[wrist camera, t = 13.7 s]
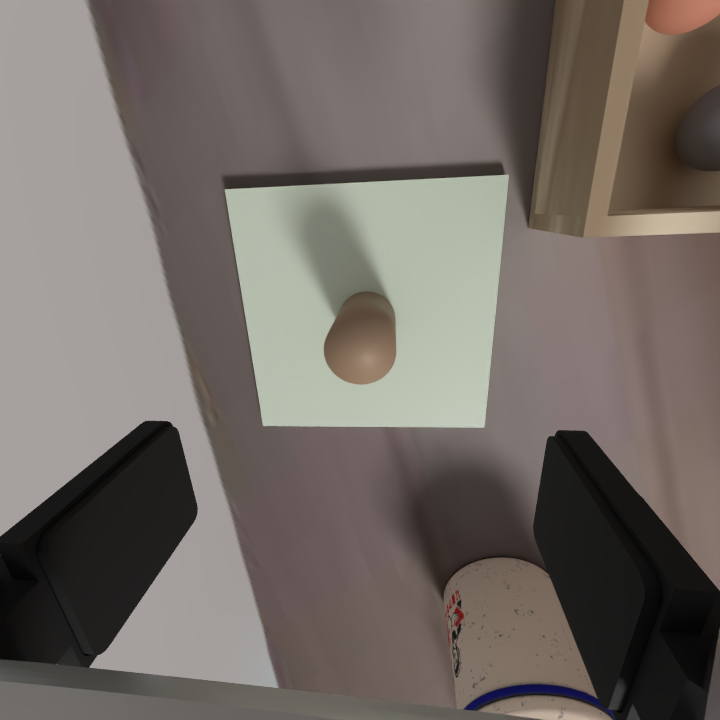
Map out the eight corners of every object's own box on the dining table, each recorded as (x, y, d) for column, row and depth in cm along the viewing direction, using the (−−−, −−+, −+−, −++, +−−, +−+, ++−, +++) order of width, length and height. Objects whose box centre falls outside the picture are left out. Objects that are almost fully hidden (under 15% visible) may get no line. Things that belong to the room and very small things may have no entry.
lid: (502, 176, 19) (549, 164, 13) (480, 417, 24) (507, 482, 19) (233, 190, 20) (171, 184, 14) (268, 416, 25) (232, 477, 20)
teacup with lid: (425, 563, 29) (445, 777, 18) (549, 541, 27) (652, 765, 16) (464, 660, 33) (498, 881, 22) (574, 646, 31) (669, 881, 20)
